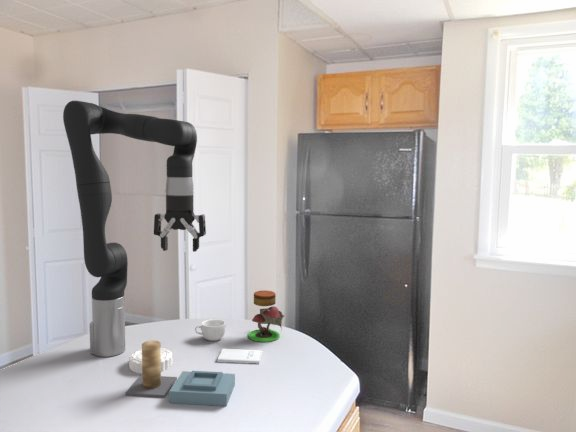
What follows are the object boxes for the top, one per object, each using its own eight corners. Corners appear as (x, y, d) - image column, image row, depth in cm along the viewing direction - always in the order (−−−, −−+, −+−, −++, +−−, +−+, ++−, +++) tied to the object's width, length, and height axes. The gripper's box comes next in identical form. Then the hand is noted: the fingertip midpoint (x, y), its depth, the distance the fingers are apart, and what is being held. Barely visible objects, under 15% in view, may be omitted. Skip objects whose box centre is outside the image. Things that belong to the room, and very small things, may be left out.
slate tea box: (169, 402, 113) (169, 387, 113) (182, 382, 124) (182, 367, 124) (226, 406, 112) (226, 390, 112) (234, 384, 123) (235, 370, 123)
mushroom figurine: (271, 346, 150) (271, 300, 148) (239, 338, 157) (240, 294, 155) (290, 335, 160) (291, 292, 158) (260, 327, 167) (261, 286, 165)
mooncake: (181, 365, 135) (181, 353, 135) (143, 379, 126) (143, 366, 126) (157, 353, 143) (157, 342, 143) (121, 365, 134) (120, 353, 134)
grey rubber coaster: (125, 395, 117) (125, 393, 117) (140, 377, 127) (140, 375, 127) (164, 397, 116) (164, 395, 116) (177, 379, 126) (176, 377, 126)
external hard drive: (222, 353, 146) (262, 354, 145) (217, 364, 137) (259, 366, 137) (222, 347, 145) (262, 349, 145) (217, 358, 137) (259, 360, 136)
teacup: (225, 334, 160) (225, 318, 159) (225, 342, 152) (225, 326, 152) (195, 335, 159) (195, 319, 158) (194, 343, 151) (194, 327, 151)
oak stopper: (139, 388, 119) (139, 346, 118) (146, 380, 124) (145, 340, 122) (157, 389, 119) (156, 347, 118) (163, 381, 123) (163, 340, 122)
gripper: (208, 193, 134) (208, 249, 136) (159, 192, 135) (159, 247, 137) (201, 194, 126) (201, 254, 128) (149, 193, 127) (150, 252, 129)
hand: (180, 250), depth 132 cm, fingers open, 8 cm apart
